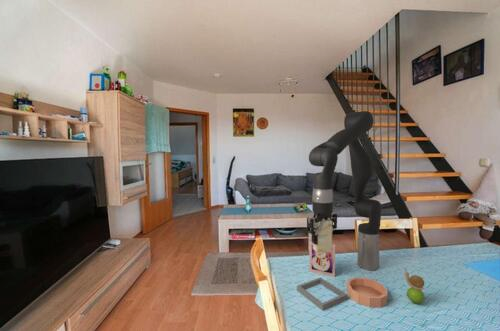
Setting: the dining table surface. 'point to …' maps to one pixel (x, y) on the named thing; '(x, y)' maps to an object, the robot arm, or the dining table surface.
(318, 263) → the greeting card
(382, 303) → the bowl
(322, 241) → the skincare box
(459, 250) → the dining table surface
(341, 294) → the open rectangular frame
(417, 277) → the snail figurine
